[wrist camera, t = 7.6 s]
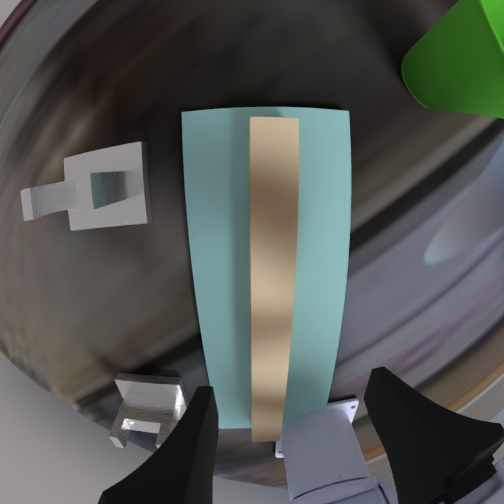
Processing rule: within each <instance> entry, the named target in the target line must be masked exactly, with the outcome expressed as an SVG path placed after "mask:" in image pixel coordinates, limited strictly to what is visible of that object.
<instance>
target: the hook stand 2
mask: <svg viewBox="0 0 504 504" xmlns="http://www.w3.org/2000/svg"><path fill="white" fill-rule="evenodd" d="M115 382H116V384H117V386H118V388H119V391H120V393H121V395H122V397H123V399H124V400H123V402H122V405H121V407H120V410H119V412H118V414H117V417H116V419H115V422H114V424H113V427H112V429H111V432H110V434H109V437H110V439H111V440H112V441H113V443H114V444H115V445H116V447H120V448H125V446H126V443H127V440H128V437H129V434H130V431H131V430H137V431H144V432H152V433H158V437H157V441H156V446H157V448H159V447H160V446H161V444H162V443H163V442H164V441H165V440H166V438H167V437H168V436H169V434H170V433H171V432H172V430H173V429H174V428H175V426H176V425H177V423H178V420H180V419H181V417H182V415H183V414H184V412H185V410H186V409H187V407H188V405H189V403H188V400H187V396H186V393H185V389H184V385H183V382H182V378H181V377H168V376H151V375H139V374H128V373H119V372H118V374H117V376H116V378H115Z"/></svg>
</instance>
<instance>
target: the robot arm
mask: <svg viewBox="0 0 504 504" xmlns="http://www.w3.org/2000/svg"><path fill="white" fill-rule="evenodd" d="M364 401H365V405H366V408H367V411H368V414H369V417H370V419H371V421H372V423H373V425H374V427H375V429H376V432H377V434H378V436H379V438H380V440H381V442H382V444H383V446H384V448H385V451H386V453H387V456H388V459H389V463H390V466H391V470H392V473H393V478H394V482H395V486H396V488H395V486H394V485H393V484H391V483H388V482H386V481H381V482H379V483H377V480H376V478H375V476H371V475H370V472H369V469H368V467H367V464H366V461H365V459H364V456H363V453H362V451H361V448H360V446H359V443H358V440H357V438H356V435H355V433H354V430H353V427H352V425H351V423H352V420H353V418H354V415H355V412H356V409H357V406H358V403H359V401H358V399H357V398H353V399H348V400H343V401H338V402H332V403H327V406H326V410H325V411H319V412H315V413H311V414H308V415H305V416H302V417H300V418H298V419H296V420H294V421H293V422H291V423H290V424H288V425H282V429H281V436H280V441H276V446H275V456H276V457H277V458H281V457H284V462H285V469H286V476H287V483H288V489H289V495H290V500H288V501H286V504H504V457H503V458H502V459H501V460H500V461H498V462H497V463H496V464H495V465H494V466H493V464H492V462H493V461H494V458H493V456H492V455H493V453H495V452H496V450H497V449H498V448H499V447H500V446H501V445H502V444H503V442H504V428H503V427H502V426H501V424H499V423H492V422H485V421H480V420H476V419H472V418H469V417H466V416H463V415H460V414H458V413H455V412H453V411H450V410H448V409H446V408H444V407H442V406H440V405H438V404H436V403H434V402H433V401H431V400H429V399H428V398H426V397H425V396H423V395H422V394H420V393H419V392H417V391H416V390H414V389H413V388H411V387H410V386H409V385H407V384H406V383H405V382H403V381H402V380H401V379H399V378H398V377H397V376H396V375H394V374H393V373H392V372H390V371H389V370H388V369H386V368H385V367H379V368H375V369H372V372H371V375H370V379H369V382H368V385H367V389H366V392H365V395H364ZM218 424H219V414H218V409H217V404H216V399H215V394H214V389H213V386H199V387H197V389H196V391H195V393H194V395H193V398H192V400H191V401H190V403H189V405H188V407H187V409H186V410H185V412H184V414H183V415H182V417H181V419H180V420H179V422H178V423H177V425H176V426H175V428H174V429H173V430H172V432H171V433H170V434H169V436H168V437H167V438H166V440H165V441H164V442H163V443H162V444H161V446H160V447H159V448H158V449H157V450H156V451H155V452H154V453H153V454H152V455H151V456H150V457H149V458H148V459H147V460H146V461H145V462H144V463H143V464H142V465H141V466H140V467H139V468H137V469H136V470H135V471H133V472H132V473H131V474H129V475H128V476H127V477H126V478H124V479H123V480H121V481H120V482H118V483H116V484H115V485H113V486H111V487H110V488H108V489H106V490H105V491H103V493H102V495H101V497H100V499H99V501H98V504H212V481H213V470H214V463H215V455H216V448H217V440H218Z"/></svg>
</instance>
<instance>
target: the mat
mask: <svg viewBox="0 0 504 504" xmlns="http://www.w3.org/2000/svg"><path fill="white" fill-rule="evenodd" d="M250 117H284V118H299V200H298V234H297V258H296V277H295V294H294V308H293V322H292V335H291V346H290V357H289V368H288V378H287V387H286V396H285V405H284V413H283V421H282V425H288V424H290V423H291V422H293V421H294V420H296V419H298V418H300V417H302V416H305V415H308V414H311V413H315V412H319V411H325V410H326V406H327V402H328V397H329V392H330V387H331V383H332V377H333V372H334V367H335V361H336V355H337V349H338V343H339V337H340V330H341V323H342V315H343V307H344V299H345V290H346V280H347V268H348V255H349V240H350V218H351V144H350V123H349V111H342V110H331V109H318V108H300V107H240V108H222V109H208V110H198V111H188V112H182V141H183V165H184V182H185V197H186V210H187V222H188V233H189V243H190V253H191V262H192V271H193V279H194V287H195V295H196V302H197V310H198V316H199V323H200V330H201V336H202V342H203V348H204V354H205V360H206V366H207V371H208V377H209V382H210V386H213V389H214V394H215V399H216V404H217V409H218V414H219V424H218V425H219V429H225V428H251V372H250V264H249V120H250Z"/></svg>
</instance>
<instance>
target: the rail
mask: <svg viewBox="0 0 504 504" xmlns="http://www.w3.org/2000/svg"><path fill="white" fill-rule="evenodd" d="M298 200H299V118H284V117H250V120H249V264H250V372H251V430H252V442H269V441H280V436H281V429H282V421H283V413H284V405H285V396H286V387H287V378H288V368H289V357H290V346H291V335H292V322H293V308H294V294H295V277H296V258H297V234H298Z"/></svg>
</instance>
